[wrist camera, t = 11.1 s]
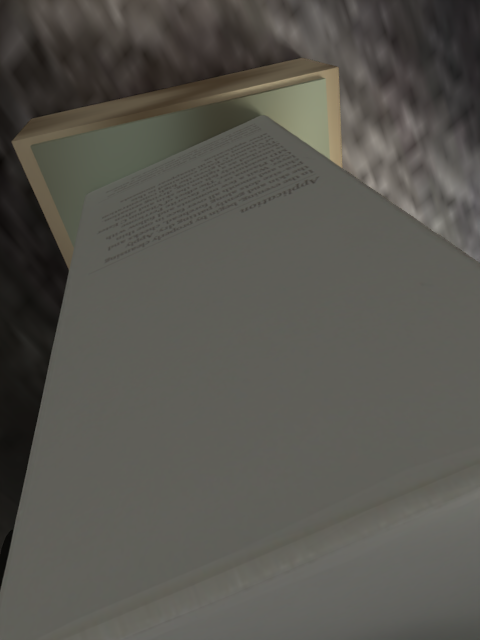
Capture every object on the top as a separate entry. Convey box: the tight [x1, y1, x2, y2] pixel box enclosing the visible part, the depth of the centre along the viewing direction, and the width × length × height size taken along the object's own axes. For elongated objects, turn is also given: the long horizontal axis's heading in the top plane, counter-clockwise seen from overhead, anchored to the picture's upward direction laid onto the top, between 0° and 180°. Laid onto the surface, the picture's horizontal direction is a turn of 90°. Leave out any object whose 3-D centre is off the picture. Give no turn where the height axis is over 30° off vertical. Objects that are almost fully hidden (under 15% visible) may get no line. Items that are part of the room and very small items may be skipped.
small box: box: [0, 115, 480, 640], centre depth 11 cm, size 8×6×13 cm
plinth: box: [11, 58, 342, 269], centre depth 18 cm, size 10×10×4 cm
